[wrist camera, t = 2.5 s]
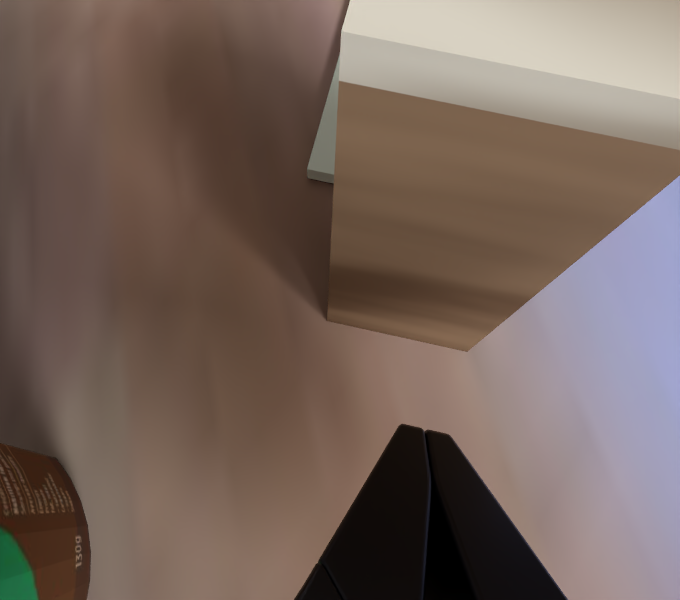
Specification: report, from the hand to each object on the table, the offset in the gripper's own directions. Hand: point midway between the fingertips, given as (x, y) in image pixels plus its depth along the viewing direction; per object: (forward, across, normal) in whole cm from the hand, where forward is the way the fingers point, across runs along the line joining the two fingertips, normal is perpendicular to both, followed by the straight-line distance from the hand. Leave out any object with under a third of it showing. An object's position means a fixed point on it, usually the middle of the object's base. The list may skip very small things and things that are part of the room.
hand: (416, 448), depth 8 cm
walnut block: (+10, 0, +1) cm, 10 cm away
